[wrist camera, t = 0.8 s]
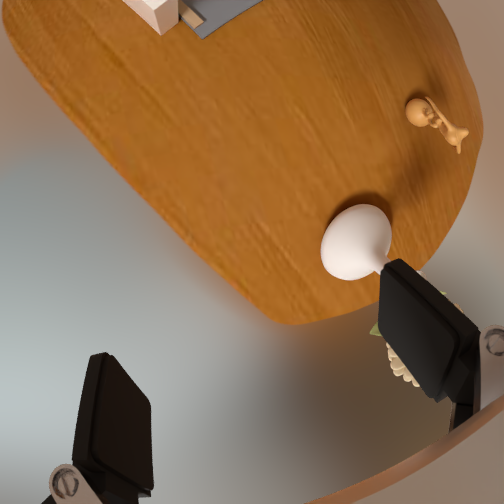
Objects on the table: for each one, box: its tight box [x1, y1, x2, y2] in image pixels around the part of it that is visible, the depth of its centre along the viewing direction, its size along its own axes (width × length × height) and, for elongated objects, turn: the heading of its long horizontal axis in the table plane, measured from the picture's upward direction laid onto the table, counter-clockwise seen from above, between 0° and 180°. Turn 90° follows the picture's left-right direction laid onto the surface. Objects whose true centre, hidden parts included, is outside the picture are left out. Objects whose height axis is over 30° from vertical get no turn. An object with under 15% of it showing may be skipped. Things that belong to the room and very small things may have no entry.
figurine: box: [405, 96, 469, 154], centre depth 29 cm, size 8×6×12 cm
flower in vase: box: [321, 204, 464, 387], centre depth 30 cm, size 13×11×25 cm
